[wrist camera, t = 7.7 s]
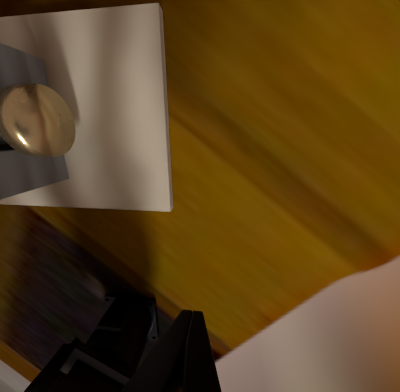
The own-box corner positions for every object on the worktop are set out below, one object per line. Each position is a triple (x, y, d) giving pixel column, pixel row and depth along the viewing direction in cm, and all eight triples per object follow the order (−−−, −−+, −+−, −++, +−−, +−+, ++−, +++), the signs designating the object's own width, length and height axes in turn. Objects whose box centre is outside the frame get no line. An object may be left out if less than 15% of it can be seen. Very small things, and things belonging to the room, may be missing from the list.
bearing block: (162, 10, 15) (106, -94, 8) (173, 207, 20) (144, 249, 13) (-76, 31, 18) (-271, -34, 11) (-14, 200, 23) (-121, 230, 16)
